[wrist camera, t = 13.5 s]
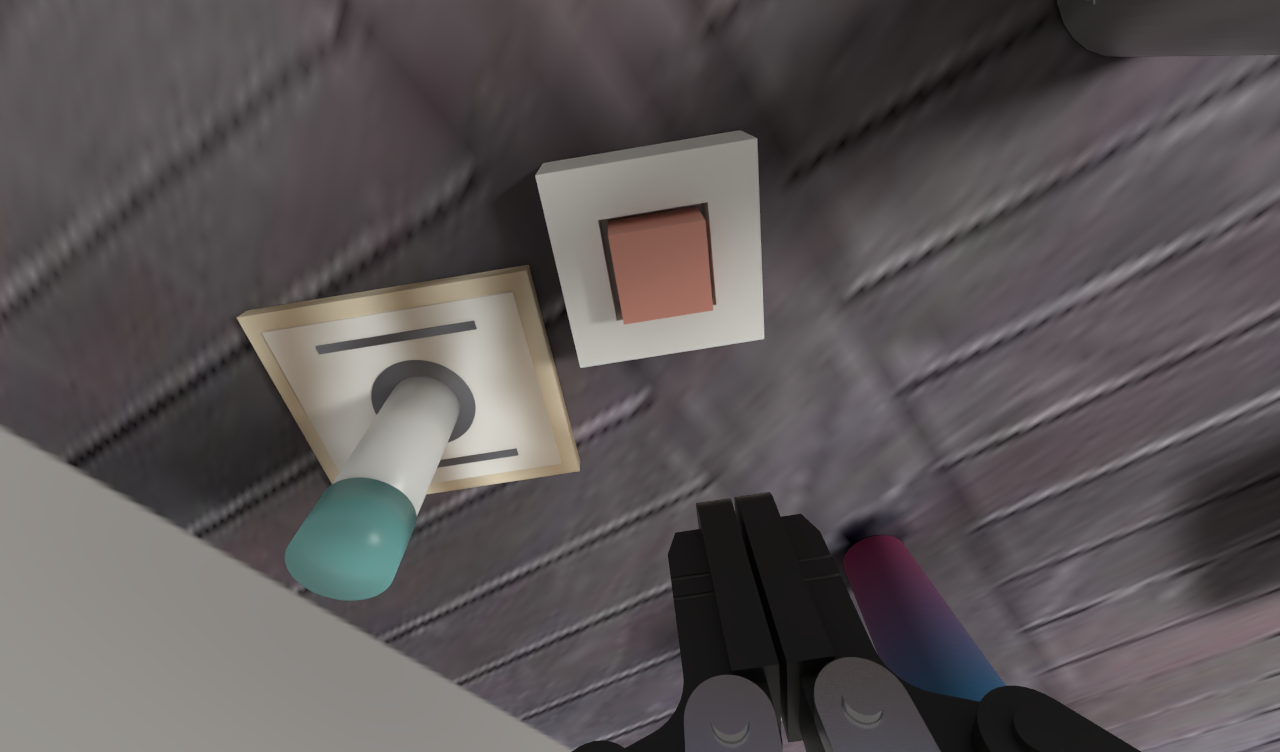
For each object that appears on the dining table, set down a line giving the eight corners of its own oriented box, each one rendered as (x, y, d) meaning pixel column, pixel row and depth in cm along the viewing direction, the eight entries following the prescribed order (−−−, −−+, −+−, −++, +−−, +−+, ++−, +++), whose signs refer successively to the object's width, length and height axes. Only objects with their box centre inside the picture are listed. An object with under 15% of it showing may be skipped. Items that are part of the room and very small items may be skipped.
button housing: (740, 130, 27) (757, 138, 24) (749, 312, 32) (764, 338, 29) (543, 163, 27) (535, 175, 24) (582, 339, 32) (580, 367, 29)
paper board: (528, 264, 30) (525, 272, 29) (580, 461, 37) (579, 473, 36) (247, 310, 30) (232, 319, 29) (351, 496, 37) (343, 509, 36)
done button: (696, 205, 26) (705, 219, 24) (703, 289, 29) (713, 310, 26) (607, 220, 27) (608, 235, 24) (622, 302, 29) (623, 324, 26)
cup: (813, 566, 43) (903, 780, 30) (877, 513, 41) (1004, 723, 28) (870, 595, 46) (976, 807, 33) (934, 547, 43) (1076, 755, 30)
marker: (448, 369, 31) (370, 521, 21) (470, 428, 33) (409, 592, 23) (377, 380, 31) (264, 537, 21) (404, 438, 33) (313, 606, 23)
